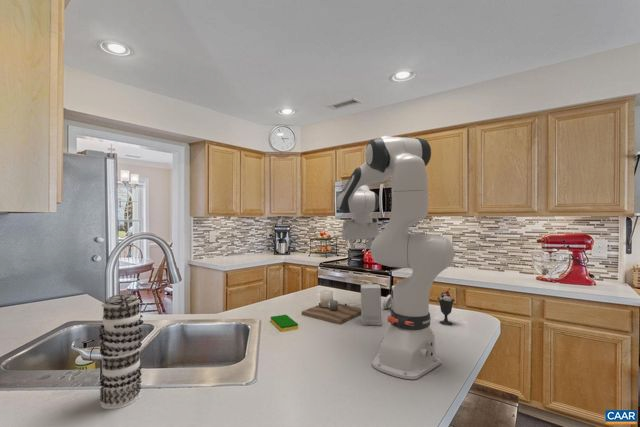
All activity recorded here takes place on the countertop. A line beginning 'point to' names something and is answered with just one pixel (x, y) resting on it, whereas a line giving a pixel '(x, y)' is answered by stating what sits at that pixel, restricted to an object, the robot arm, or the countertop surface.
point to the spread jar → (389, 300)
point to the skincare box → (371, 304)
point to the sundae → (446, 306)
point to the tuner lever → (328, 300)
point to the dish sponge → (284, 323)
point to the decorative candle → (120, 351)
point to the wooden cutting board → (333, 313)
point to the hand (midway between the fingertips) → (360, 248)
